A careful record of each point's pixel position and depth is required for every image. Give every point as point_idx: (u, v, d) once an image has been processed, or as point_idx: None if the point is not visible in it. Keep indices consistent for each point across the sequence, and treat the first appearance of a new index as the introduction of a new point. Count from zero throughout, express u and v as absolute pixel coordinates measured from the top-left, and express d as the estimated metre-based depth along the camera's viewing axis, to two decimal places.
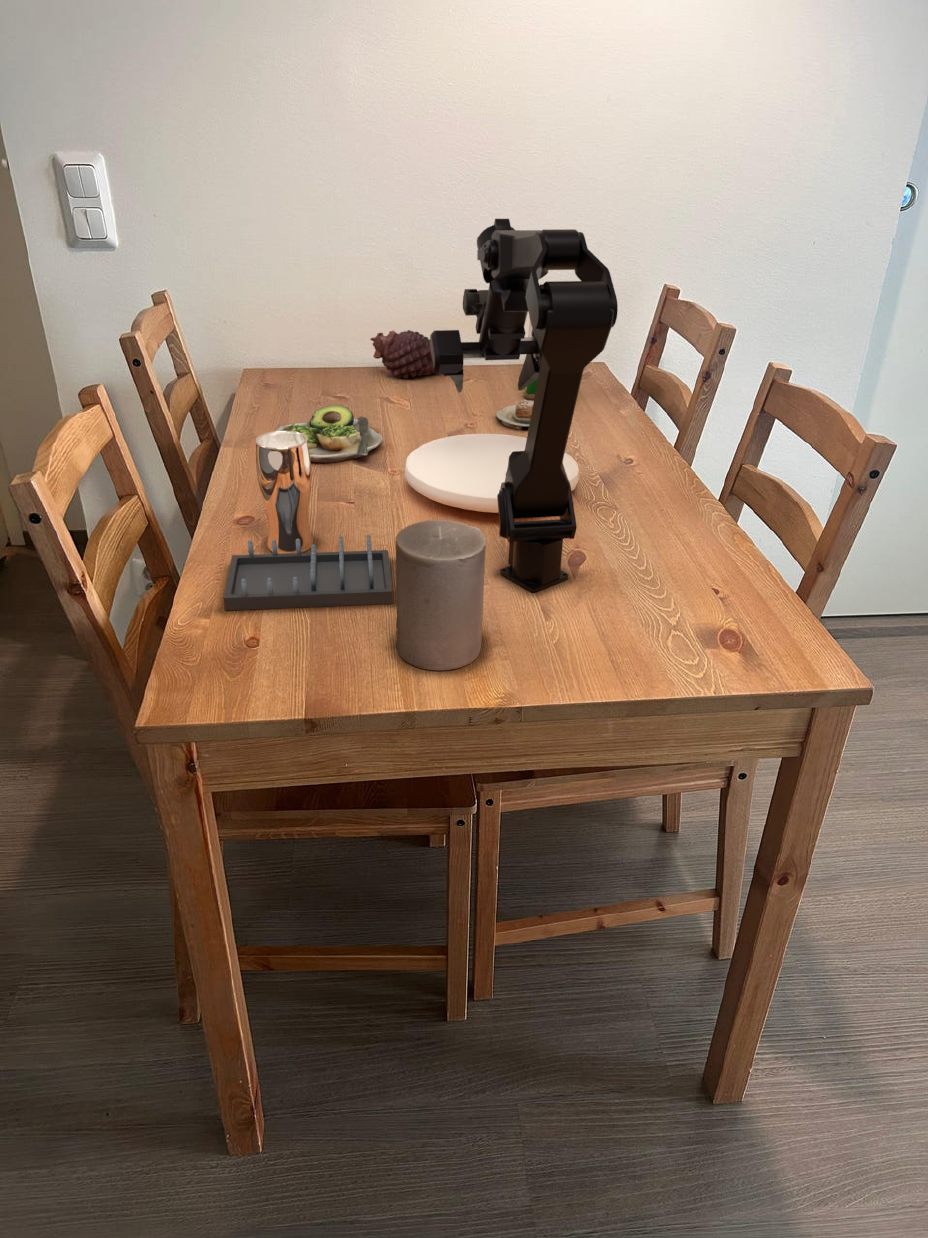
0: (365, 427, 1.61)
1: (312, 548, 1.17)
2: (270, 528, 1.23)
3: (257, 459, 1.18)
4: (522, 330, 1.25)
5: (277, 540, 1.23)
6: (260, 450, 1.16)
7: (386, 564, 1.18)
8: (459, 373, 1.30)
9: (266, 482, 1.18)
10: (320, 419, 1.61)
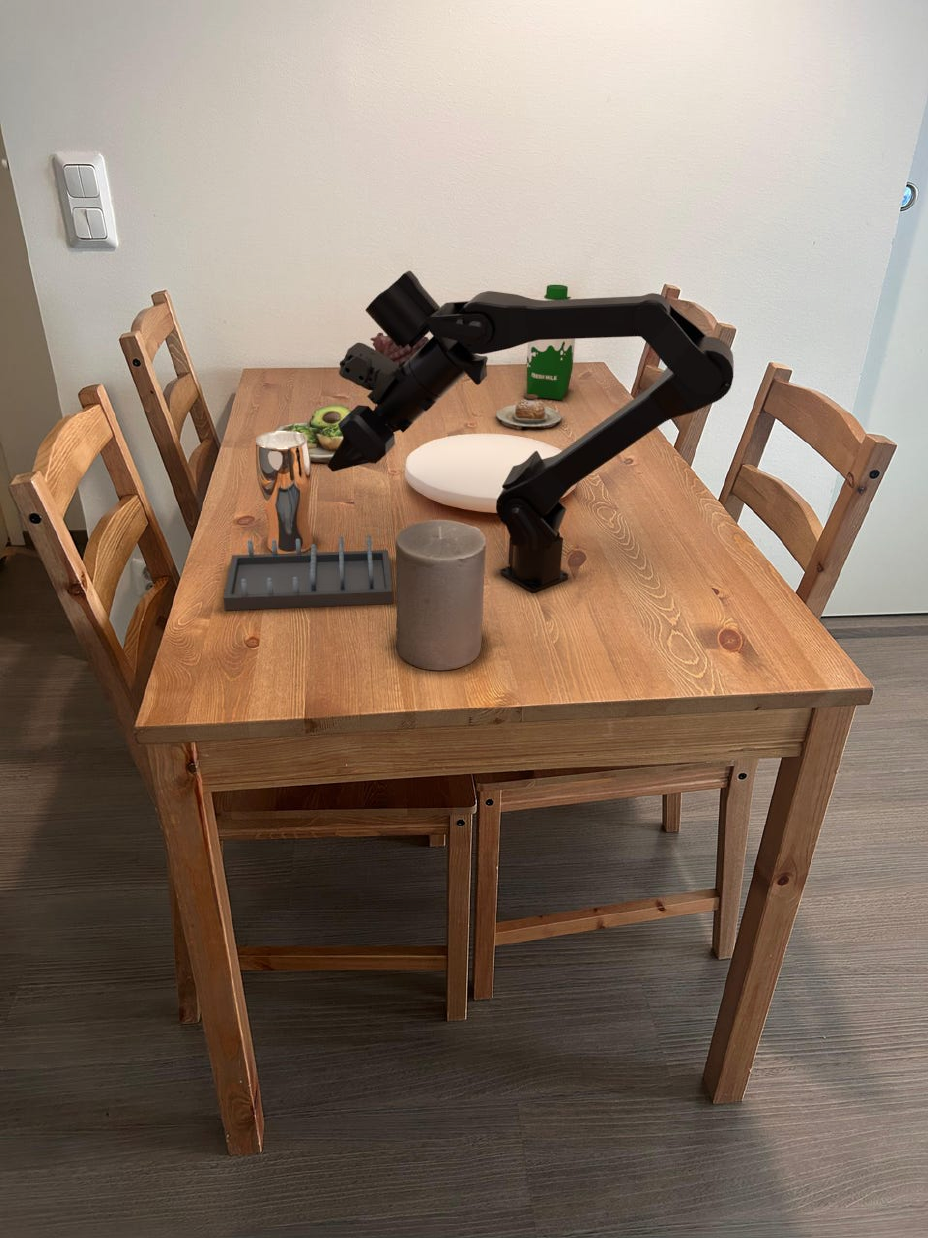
0: None
1: (312, 548, 1.17)
2: (270, 528, 1.23)
3: (257, 459, 1.18)
4: None
5: (277, 540, 1.23)
6: (260, 450, 1.16)
7: (386, 564, 1.18)
8: None
9: (266, 482, 1.18)
10: (320, 419, 1.61)
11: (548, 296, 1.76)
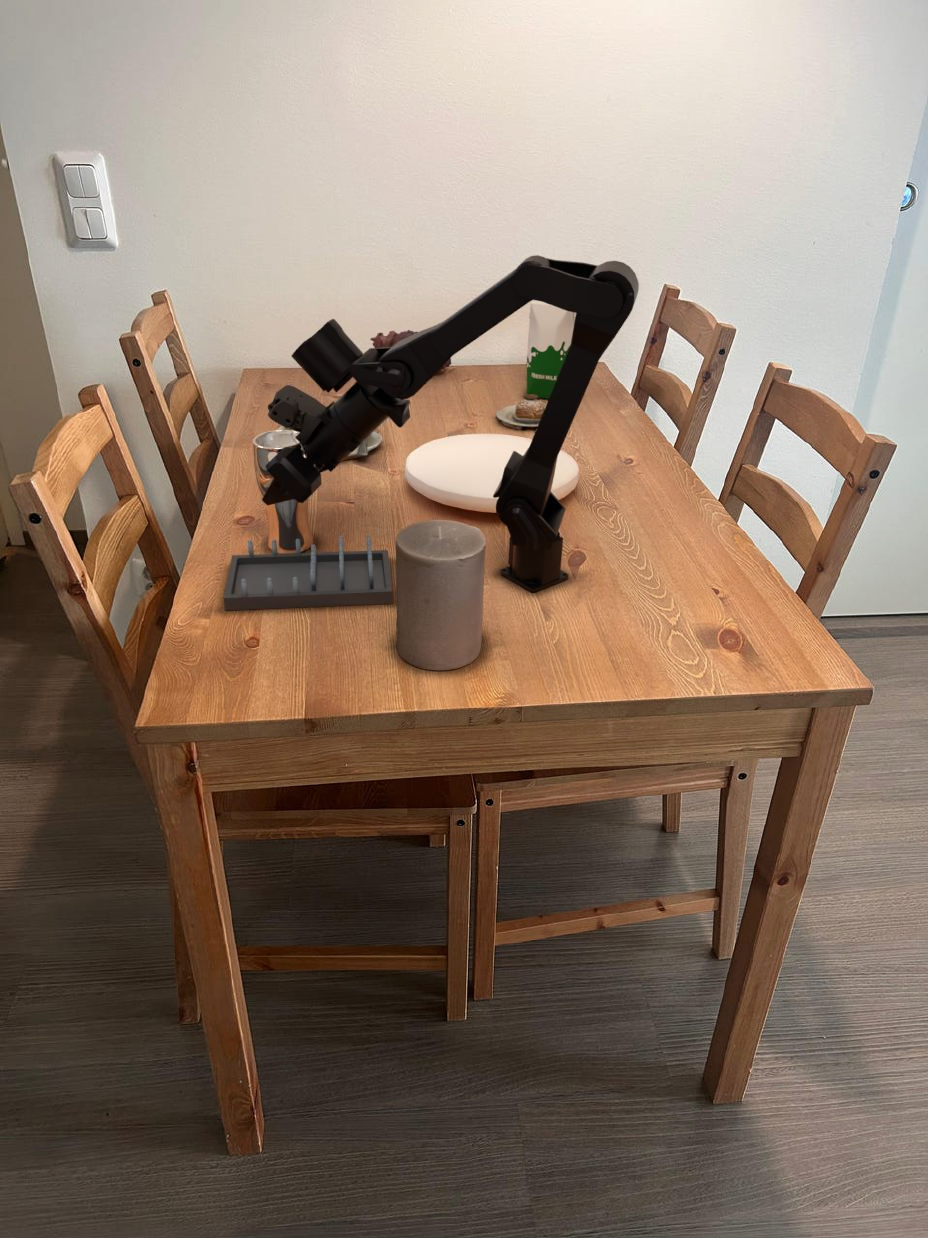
0: None
1: (312, 548, 1.17)
2: (270, 528, 1.23)
3: (255, 459, 1.18)
4: None
5: (277, 539, 1.23)
6: (257, 450, 1.16)
7: (386, 564, 1.18)
8: None
9: (264, 482, 1.18)
10: None
11: None
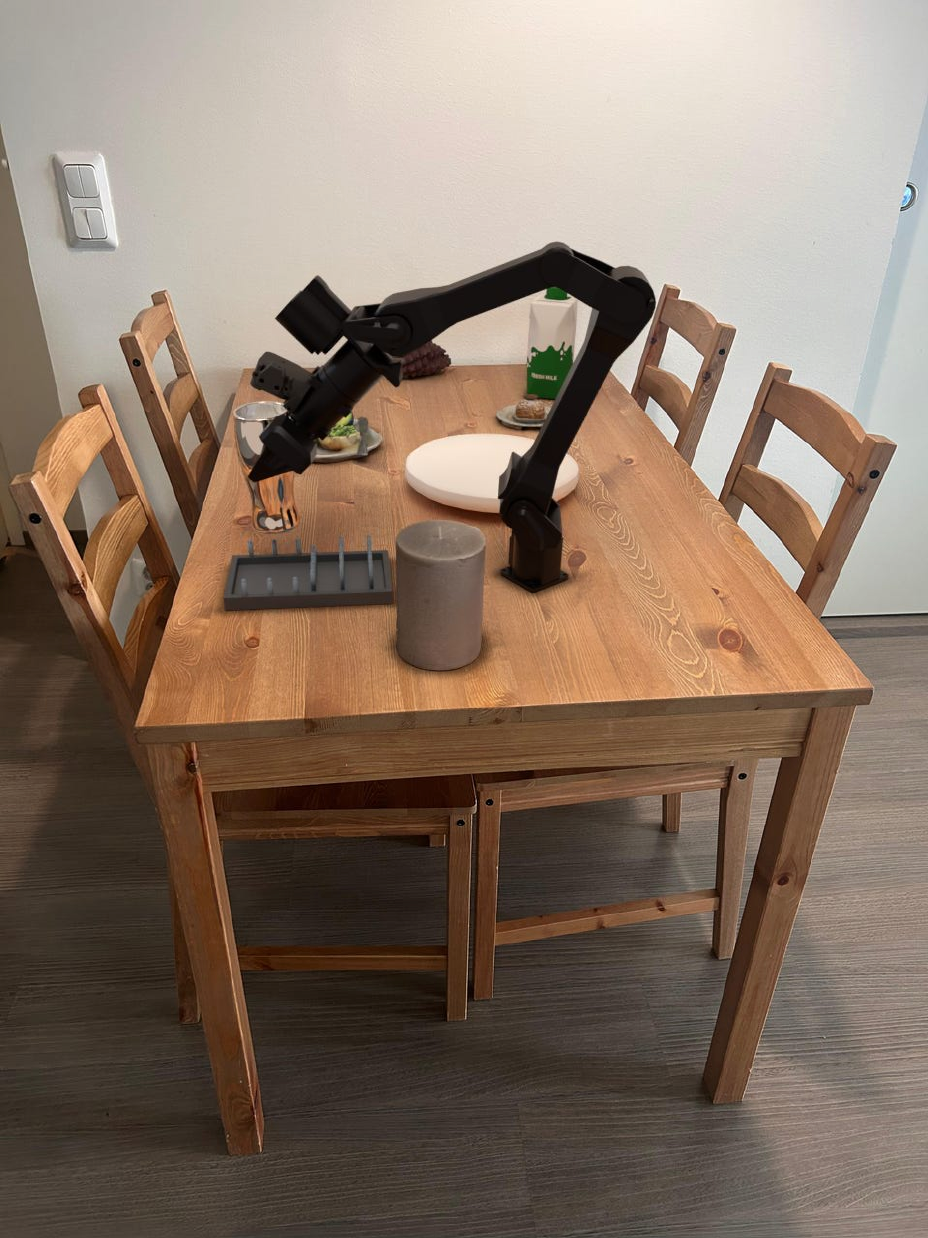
0: (365, 427, 1.61)
1: (312, 548, 1.17)
2: (255, 507, 1.15)
3: (237, 434, 1.10)
4: None
5: (264, 519, 1.15)
6: (241, 423, 1.08)
7: (386, 564, 1.18)
8: None
9: (249, 458, 1.10)
10: None
11: (548, 296, 1.76)
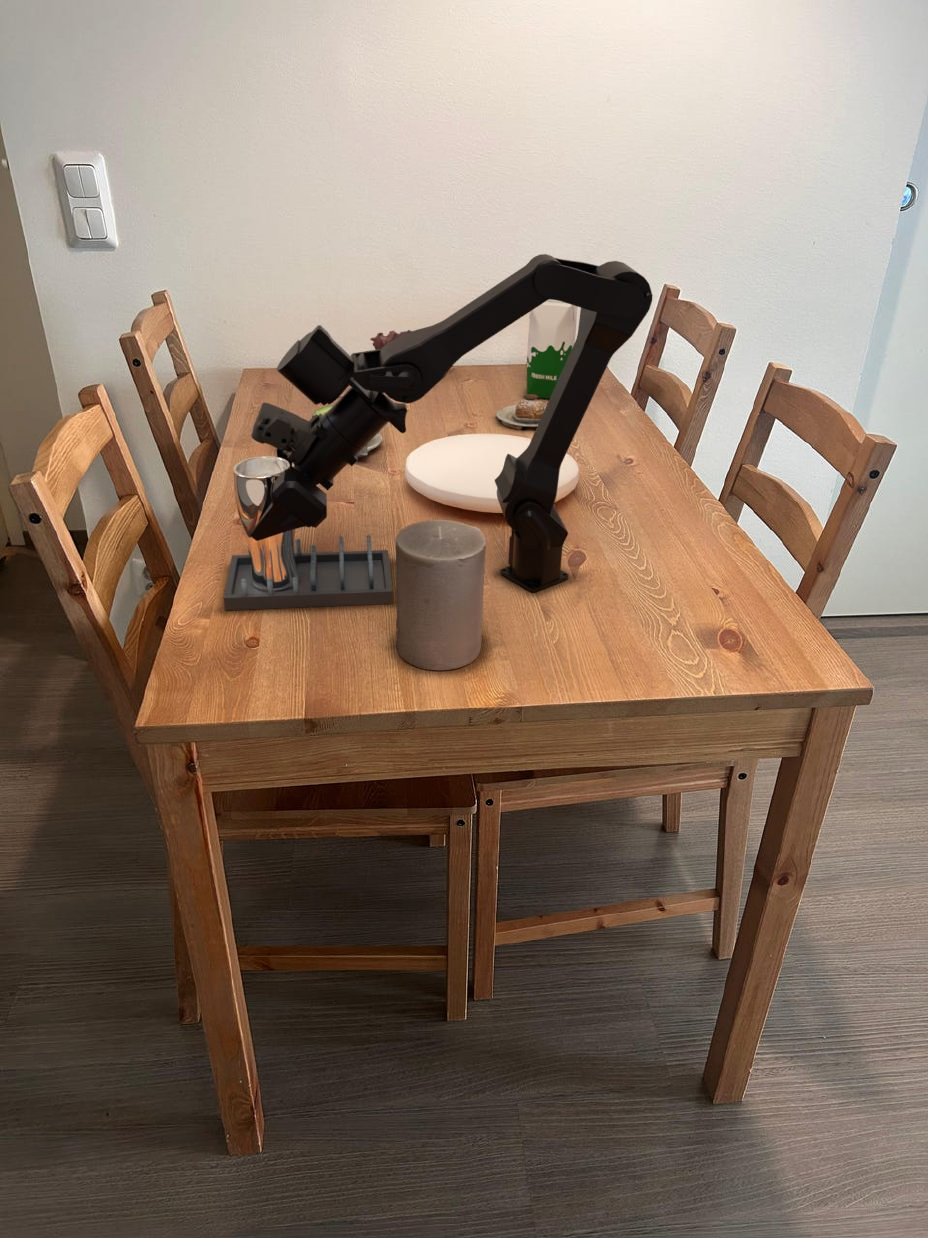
0: None
1: (312, 548, 1.17)
2: (258, 565, 1.12)
3: (240, 492, 1.07)
4: None
5: (269, 576, 1.12)
6: (245, 482, 1.06)
7: (386, 564, 1.18)
8: None
9: (255, 516, 1.08)
10: None
11: None
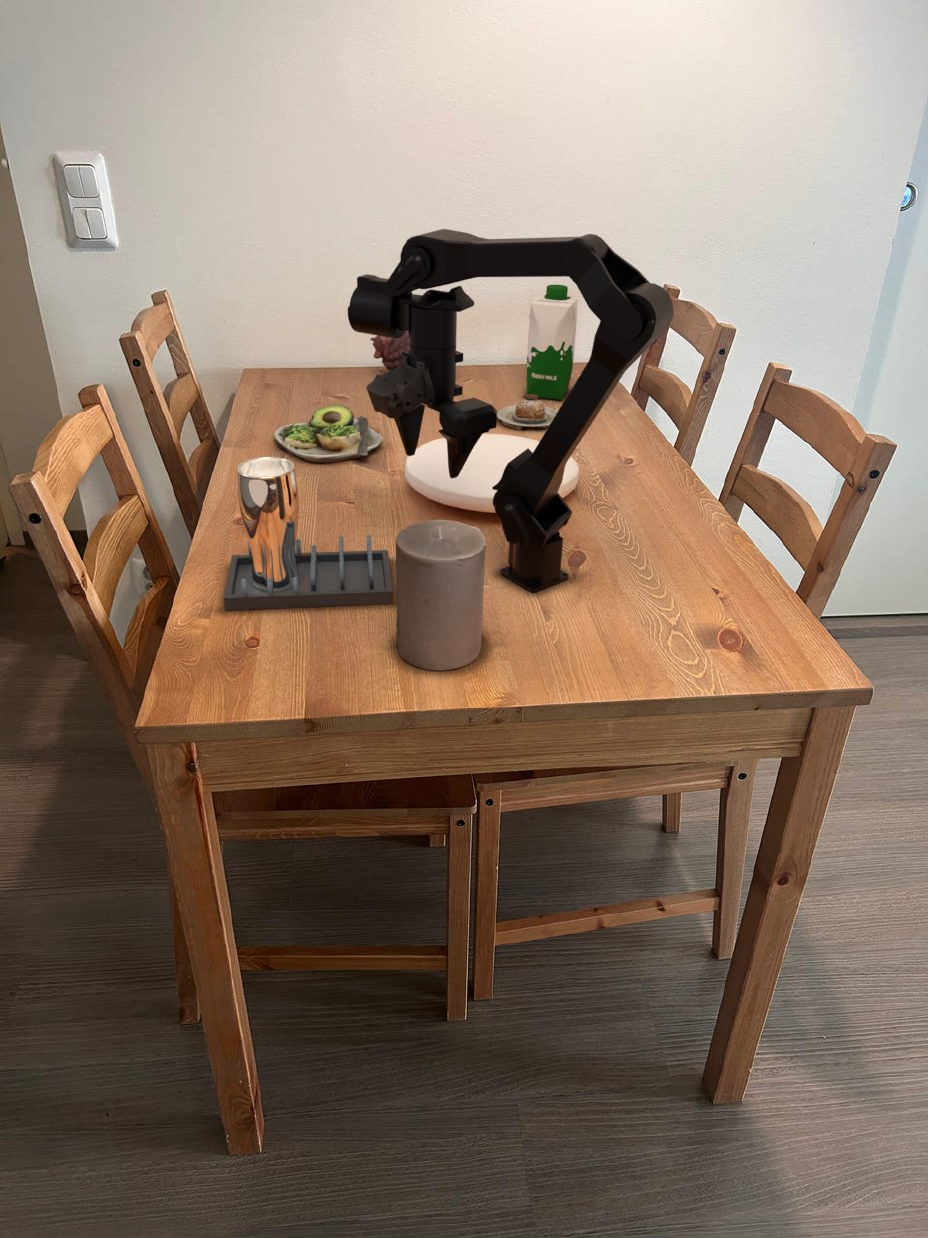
0: (365, 427, 1.61)
1: (312, 548, 1.17)
2: (258, 565, 1.12)
3: (244, 492, 1.07)
4: None
5: (269, 577, 1.12)
6: (249, 482, 1.06)
7: (386, 564, 1.18)
8: None
9: (258, 516, 1.08)
10: (320, 419, 1.61)
11: (548, 296, 1.76)
